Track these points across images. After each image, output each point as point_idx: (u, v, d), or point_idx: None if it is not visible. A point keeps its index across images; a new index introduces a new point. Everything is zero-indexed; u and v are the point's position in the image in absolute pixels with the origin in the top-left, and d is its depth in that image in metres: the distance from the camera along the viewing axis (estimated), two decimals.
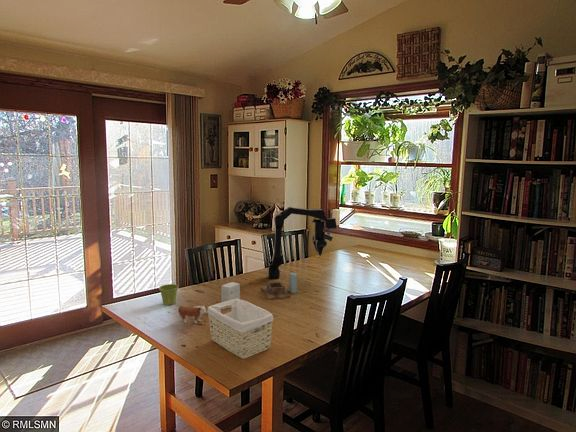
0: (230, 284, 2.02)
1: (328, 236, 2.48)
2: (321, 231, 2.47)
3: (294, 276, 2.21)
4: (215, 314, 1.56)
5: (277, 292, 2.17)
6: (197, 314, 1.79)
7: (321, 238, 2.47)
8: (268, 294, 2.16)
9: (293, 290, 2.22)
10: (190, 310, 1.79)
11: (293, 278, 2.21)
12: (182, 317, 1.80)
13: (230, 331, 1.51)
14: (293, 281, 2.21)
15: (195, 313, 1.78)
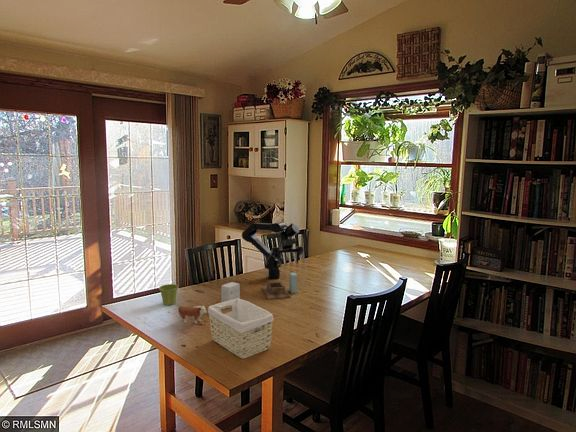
0: (230, 284, 2.02)
1: (284, 242, 2.33)
2: (281, 241, 2.39)
3: (294, 276, 2.21)
4: (215, 314, 1.56)
5: (277, 292, 2.17)
6: (197, 314, 1.79)
7: (282, 247, 2.36)
8: (268, 294, 2.16)
9: (293, 290, 2.22)
10: (190, 310, 1.79)
11: (293, 278, 2.21)
12: (182, 317, 1.80)
13: (230, 331, 1.51)
14: (293, 281, 2.21)
15: (195, 313, 1.78)
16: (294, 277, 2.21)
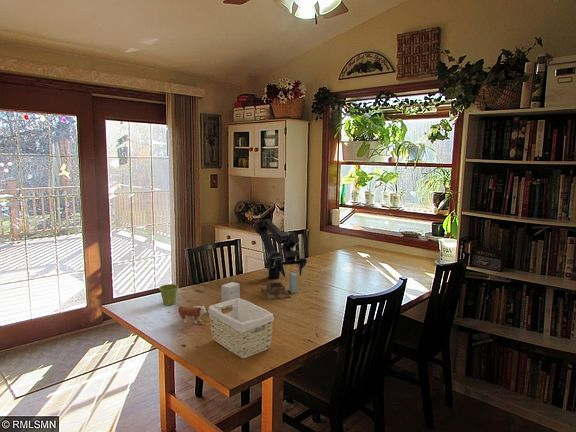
0: (230, 284, 2.02)
1: (286, 253, 2.27)
2: (284, 253, 2.33)
3: (294, 276, 2.21)
4: (216, 314, 1.56)
5: (277, 292, 2.17)
6: (197, 314, 1.79)
7: (285, 259, 2.30)
8: (268, 294, 2.16)
9: (293, 290, 2.22)
10: (190, 310, 1.79)
11: (293, 278, 2.21)
12: (182, 317, 1.80)
13: (230, 331, 1.51)
14: (293, 281, 2.21)
15: (195, 313, 1.78)
16: (294, 277, 2.21)
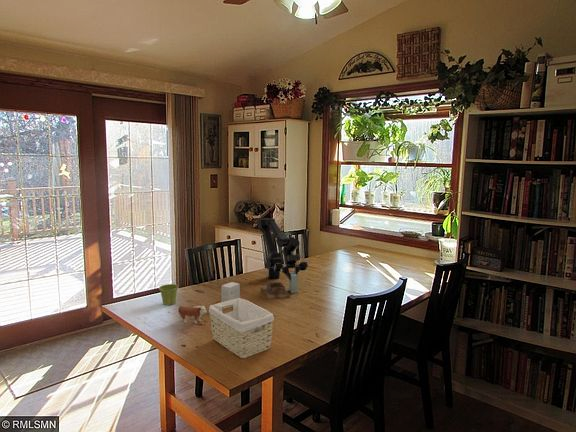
0: (230, 284, 2.02)
1: (287, 257, 2.25)
2: (284, 256, 2.31)
3: (294, 276, 2.21)
4: (216, 313, 1.57)
5: (277, 292, 2.17)
6: (197, 314, 1.79)
7: (286, 263, 2.28)
8: (268, 294, 2.16)
9: (293, 290, 2.22)
10: (190, 310, 1.79)
11: (293, 278, 2.21)
12: (182, 317, 1.80)
13: (230, 330, 1.51)
14: (293, 281, 2.21)
15: (195, 313, 1.78)
16: (294, 277, 2.21)
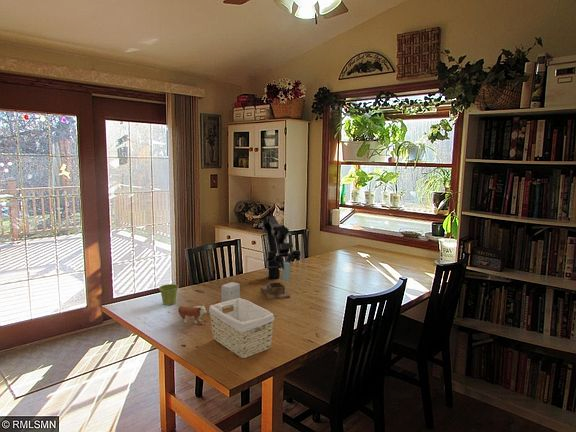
0: (230, 284, 2.02)
1: (280, 246, 2.23)
2: (277, 245, 2.28)
3: (287, 264, 2.19)
4: (216, 313, 1.57)
5: (277, 292, 2.17)
6: (197, 314, 1.79)
7: (278, 252, 2.26)
8: (268, 294, 2.16)
9: (286, 279, 2.20)
10: (190, 310, 1.79)
11: (286, 266, 2.19)
12: (182, 317, 1.80)
13: (231, 330, 1.51)
14: (286, 270, 2.19)
15: (195, 313, 1.78)
16: (287, 265, 2.19)
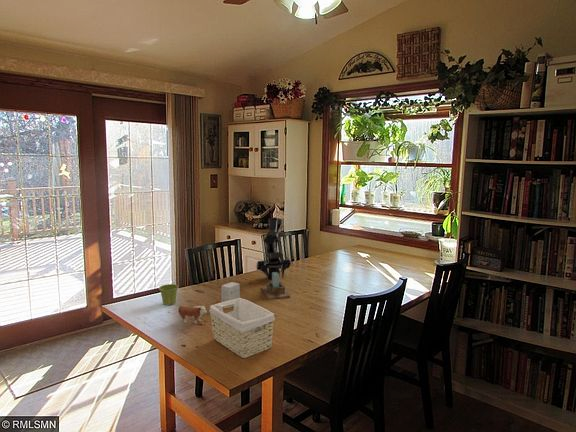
0: (230, 284, 2.02)
1: (270, 255, 2.22)
2: (267, 254, 2.27)
3: (276, 276, 2.18)
4: (217, 313, 1.57)
5: (277, 292, 2.17)
6: (197, 314, 1.79)
7: (268, 261, 2.25)
8: (268, 294, 2.16)
9: None
10: (190, 310, 1.79)
11: (275, 278, 2.18)
12: (182, 317, 1.80)
13: (231, 330, 1.52)
14: (275, 281, 2.18)
15: (195, 313, 1.78)
16: (276, 277, 2.18)
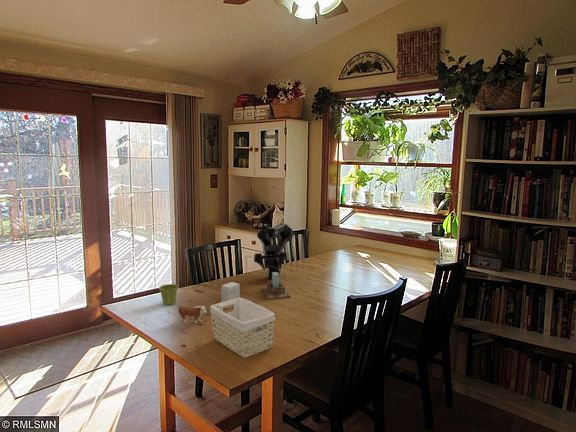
0: (230, 284, 2.02)
1: (266, 247, 2.31)
2: (264, 247, 2.36)
3: (276, 276, 2.18)
4: (217, 313, 1.57)
5: (277, 292, 2.17)
6: (197, 314, 1.79)
7: (265, 253, 2.33)
8: (268, 294, 2.16)
9: None
10: (190, 310, 1.79)
11: (275, 278, 2.18)
12: (182, 317, 1.80)
13: (232, 330, 1.52)
14: (275, 281, 2.18)
15: (195, 313, 1.78)
16: (276, 277, 2.18)
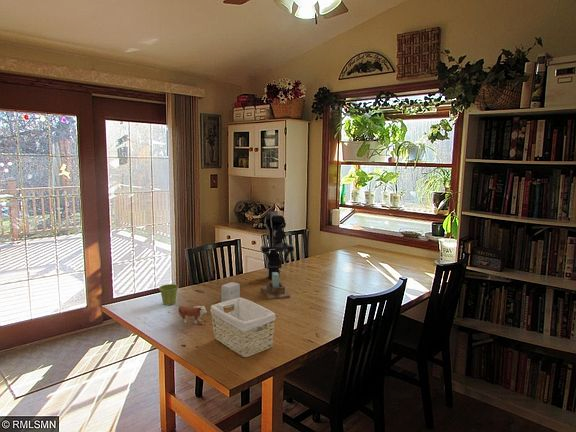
0: (230, 284, 2.02)
1: (275, 245, 2.28)
2: (273, 238, 2.31)
3: (276, 276, 2.18)
4: (218, 313, 1.57)
5: (277, 292, 2.17)
6: (197, 314, 1.79)
7: (273, 246, 2.32)
8: (268, 294, 2.16)
9: None
10: (190, 310, 1.79)
11: (275, 278, 2.18)
12: (182, 317, 1.80)
13: (232, 330, 1.52)
14: (275, 281, 2.18)
15: (195, 313, 1.78)
16: (276, 277, 2.18)
